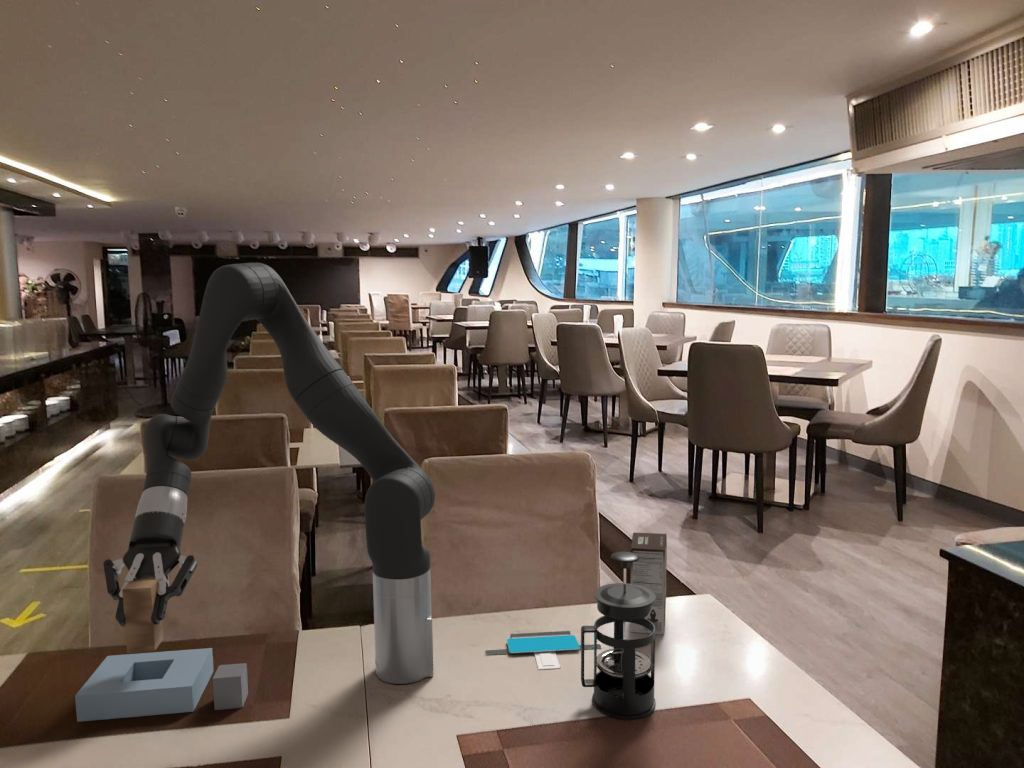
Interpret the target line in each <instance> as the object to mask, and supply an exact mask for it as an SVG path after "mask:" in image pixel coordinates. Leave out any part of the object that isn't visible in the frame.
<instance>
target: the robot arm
mask: <svg viewBox="0 0 1024 768" xmlns="http://www.w3.org/2000/svg"><path fill="white" fill-rule="evenodd" d="M253 320H256V321H258V322H259V323H260V325H261V326H262V327H263V328H264V329H265V330H266V332H267V333H268V334H269V336H270V338H271V339H272V340H273V341H274V344H275V345H276V346H277V348H278V350H279V354H280V357H281V362H282V364H281V365H282V368H283V375H284V380H285V385H286V387H287V390H288V393H289V394H290V396H291V398H292V400H293V401H294V403H295V404H296V405H297V406H298V407H297V408H299V410H300V411H301V413H303V415H304V416H305V418H306V419H307V420H308V421H309V422H310V424H311V425H312V426H313V427H314V428H315V429H316V431H318V432H320V434H321V435H323V436H325V437H326V438H327V439H328V440H330V441H332V442H333V443H334V444H336V445H337V446H339V447H341V448H342V449H343V450H344V451H346V452H347V453H349V454H350V455H351V456H352V457H353V458H355V459H356V460H357V462H359V463H360V465H361V466H362V467H363V469H365V471H366V473H368V475H369V477H370V478H371V480H372V481H373V483H371V484H370V486H369V488H368V489H367V491H366V494H365V499H364V508H363V509H364V512H363V513H364V524H365V525H364V526H365V528H364V529H365V538H366V539H365V540H366V549H367V554H368V557H369V559H370V561H371V564H372V567H371V568H372V593H373V595H372V596H373V617H374V619H373V621H374V622H373V625H374V651H375V652H374V655H375V657H374V658H375V660H374V661H375V662H374V663H375V674H376V677H377V678H379V679H380V680H381V681H383V682H386V683H388V684H393V685H394V684H395V685H405V684H406V685H407V684H411V683H416V682H418V681H421V680H424V679H426V678H429V677H430V678H431V677H434V645H433V644H434V643H433V642H434V640H433V638H434V635H433V633H434V632H433V616H432V583H431V578H432V577H431V576H432V575H431V553H430V551H429V549H428V548H427V547H425V546H424V545H423V540H422V523H421V522H422V520H423V519H424V518H425V517H426V516H427V515H428V514H429V513H430V512H431V511H432V509H433V507H434V504H435V500H436V491H435V488H434V485H433V483H432V480H431V478H430V477H429V476H428V475H427V473H426V472H425V471H424V470H423V468H422V467H420V465H419V464H418V463H417V462H416V461H415V459H413V458H412V457H411V456H410V454H409V453H408V452H407V451H406V450H405V449H404V448H403V447H402V446H401V445H400V444H399V442H398V441H397V440H396V439H395V438H394V436H393V435H392V434H391V433H390V432H389V431H388V429H387V428H386V427H385V425H384V424H383V422H382V421H381V420H380V418H379V417H378V415H377V414H376V412H375V411H374V410H373V409H372V407H371V406H370V405H369V403H368V402H367V400H366V399H365V398H364V397H363V395H362V393H361V392H360V390H359V389H358V387H357V386H356V385H355V384H354V382H353V381H352V380H351V378H350V376H348V374H347V373H346V371H345V370H344V369H343V367H342V366H341V365H340V364H339V363H338V361H337V360H336V359H335V357H334V356H333V355H332V354H331V352H330V351H329V350H328V348H327V346H325V345H326V344H324V343H323V341H322V339H321V338H320V337H319V335H318V334H317V333H316V331H315V329H313V327H312V326H311V324H310V323H309V322H308V320H307V318H306V316H305V315H304V314H303V313H302V310H301V308H300V307H299V305H298V304H297V302H296V300H295V298H294V297H293V295H292V294H291V292H290V290H289V289H288V287H287V285H286V284H285V282H284V280H283V279H282V278H281V276H280V275H279V274H278V273H277V272H276V270H274V268H272V267H271V266H269V265H267V264H265V263H262V262H244V263H241V262H240V263H232V264H231V263H230V264H226V265H222V266H220V267H218V268H216V269H215V270H214V271H213V272H212V274H211V275H210V277H209V278H208V282H207V283H206V287H205V290H204V294H203V297H202V303H201V307H200V311H199V316H198V320H197V324H196V328H195V333H194V336H193V341H192V345H191V350H190V353H189V356H188V359H187V361H186V364H185V365H184V366H185V367H184V369H183V371H182V374H181V376H180V378H179V379H178V382H177V385H176V386H175V389H174V391H173V394H172V396H171V399H170V407H171V409H172V411H174V413H175V414H177V415H178V416H179V417H178V416H175V415H171V414H167V413H159V414H158V413H157V414H156V415H154V416H153V417H151V418H150V419H149V421H148V422H146V423H147V424H146V426H145V428H144V432H143V443H144V451H145V452H144V453H145V457H146V458H145V459H146V475H145V480H144V484H143V489H142V492H141V496H140V499H139V501H138V504H137V508H136V512H135V516H134V520H133V525H132V529H131V533H130V538H129V542H128V549H127V550H126V552H125V553H124V555H123V556H122V558H118V559H116V560H111V559H109V558H108V559H105V560H104V562H103V569H104V570H103V571H104V578H105V585H106V591H107V594H109V596H110V598H112V599H113V600H114V601H118V603H117V608H116V612H115V620H116V621H117V623H118V624H119V625H120V626H121V627H125V614H124V606H123V592H122V589H123V588H124V587H125V586H126V585H127V584H128V583H129V582H130V581H133V580H135V579H141V578H155V579H156V580H157V579H158V586H157V592H158V596H156V597H155V602H154V607H153V612H152V616H151V621H152V623H154V624H160V620H162V621H164V619H165V617H166V612H167V609H168V603H169V602H168V601H169V600H170V599H171V598H173V597H181V596H182V595H183V593H184V591H185V590H186V588H187V585H188V584H189V582H190V580H191V578H192V576H193V575H194V573H195V571H196V568H197V567H198V563H197V560H196V559H195V556H194V555H187V556H186V555H183V554H181V545H182V542H183V541H182V540H183V535H184V528H185V524H186V522H187V511H188V497H189V491H190V486H191V481H192V471H191V469H190V467H189V466H188V465H187V464H185V463H184V462H182V461H180V460H184V461H190V462H191V461H196V460H198V459H200V458H201V457H202V456H203V455H204V454H205V453H206V451H207V449H208V445H209V438H210V425H211V419H212V415H213V412H214V410H215V407H216V405H217V403H218V401H219V398H220V397H221V395H222V393H223V390H224V389H225V386H226V382H227V378H228V360H227V350H228V349H227V348H228V346H229V343H230V340H231V339H232V337H233V334H234V333H235V332H236V330H237V329H238V328H239V326H240V325H241V323H242V322H248V321H253ZM178 459H179V460H178ZM177 566H178V568H179V570H178V571H177V574H176V576H175V578H174V580H173V582H172V583H171V585H170V580H169V574H170V573H171V572H172V571H173V570H174V569H175V568H176V567H177ZM124 567H126V569H127V570H128V572H127V574H126V576H125V578H124V583H123V585H122V587H121V585H120V579H119V575H121V573H122V571H123V568H124Z"/></svg>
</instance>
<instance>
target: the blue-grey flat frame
mask: <svg viewBox="0 0 1024 768" xmlns="http://www.w3.org/2000/svg"><path fill="white" fill-rule="evenodd" d="M214 672H215V671H214V657H213V647H207V648H195V649H193V648H191V649H183V650H182V649H180V650H169V651H151V652H138V653H126V654H115V655H113V654H112V655H107V656H106V657H105V658H104V660H103V661H102V662H101V663H100V664H99V666H98V667H97V668H96V669H95V671H94V672H93V673H92V674H91V676H89V678H88V679H87V680H86V682H85V683H84V684H83V685H82V686H81V688H80V689H79V690H78V691H77V693H76V694H75V695H74V697H75V698H74V699H75V711H76V721H77V722H78V723H79V722H90V721H91V722H93V721H101V720H111V719H112V720H114V719H123V718H125V719H126V718H138V717H147V716H149V717H150V716H158V715H168V714H169V715H171V714H179V713H180V714H181V713H182V714H183V713H191V712H192V713H193V712H194V711H195V709H196V708H197V705H198V704H199V702H200V699H201V698H202V696H203V693H204V691H205V689H206V687H207V685H208V683H209V681H210V680H211V677H212V675H213V673H214Z"/></svg>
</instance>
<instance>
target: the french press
mask: <svg viewBox="0 0 1024 768" xmlns="http://www.w3.org/2000/svg"><path fill="white" fill-rule="evenodd" d="M610 559H611V560H613V561H614V562H618V563H621V568H622V569H623V582H616V583H608V584H604V585H602V586H599V587H598V588H596V589H595V590H594V593H593V594H594V595H593V596H594V599H595V600H596V602H597V603H596V604H597V605H596V607H597V611H598V612H599V614H601V615H603V616H600V617H599V618H597V619H596V620H595V621H594V624H593V625H582V626H581V627H580V645H581V650H580V683H581V686H582V687H583V688H593V693H592V696H591V697H592V698H591V699H592V701H591V702H592V705H593V707H594V708H595V709H596V710H597V711H598V712H599V713H601V714H602V715H605V716H607V717H609V718H613V719H617V720H623V721H625V720H627V721H628V720H629V721H631V720H632V721H633V720H638V719H639V720H640V719H642V718H645V717H647V716H649V715H651V714H652V713H653V712H654V711H655V709H656V703H657V701H656V698H655V675H656V674H655V666H656V665H655V660H656V656H655V655H656V654H655V653H656V634H655V626H654V624H653V623H652V622H651V621H649V620H648V619H646V618H645V617H646V616H648V614H649V612H650V609H651V606H652V604H653V603H654V602H655V599H656V596H655V594H654V592H652V591H651V590H650V589H648V588H646V587H643V586H640V585H635V584H631V583H627V569H628V568H629V563H630V564H631V562H636V561H638V560H639V559H640V557H639V556H638V555H637V554H635V553H631V551H616V552H613V553H612V554H610ZM611 623H613V637H612V636H609V635H606V634H604V633H602V632H600V631H599V630H598V629H599V628H600V627H602V626H604V625H607V624H611ZM627 623H635V624H639V625H642V626H644V627H646V628H648V629H649V630H650V631H651V632H652V633H651V634H648V635H647V636H644V637H641V638H635V639H626V632H627V631H626V630H627V629H626V627H627V626H626V624H627ZM588 633H591V634H592V633H593V644H594V646H593V647H594V649H593V679H591V678H589V679H586V678H585V650H584V645H585V634H588ZM598 642H600V643H601V644H602V645H605V646H609V647H611V649H610V648H609V649H607V650H604V651H601V652H600V653H599V654H598V653H597V652H598V650H597V644H598ZM649 645H650V646H651V647H650V650H651V651H650V657H649V656H648V655H647V654H645V653H643V652H642V651H638V650H636V649H640V648H645V647H647V646H649ZM597 654H598V655H597ZM597 670H599V671H598V672H597ZM614 689H622V696H619V695H615V694H613V693H609V692H608V691H610V690H614ZM636 692H637V693H639V694H640V695H636Z"/></svg>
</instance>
